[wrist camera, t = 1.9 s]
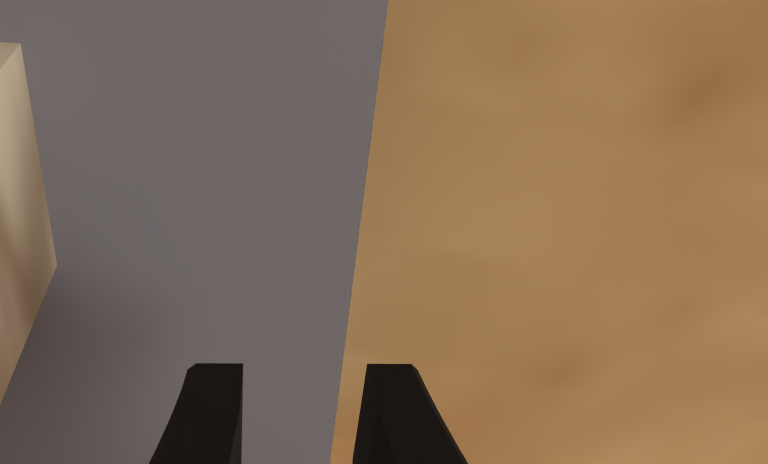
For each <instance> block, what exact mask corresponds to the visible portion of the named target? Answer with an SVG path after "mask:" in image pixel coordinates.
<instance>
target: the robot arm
mask: <svg viewBox="0 0 768 464" xmlns="http://www.w3.org/2000/svg"><path fill="white" fill-rule="evenodd" d="M242 407H243V363H196V364H194V365H193V366H192V367H190V368H189V369H187V373H186V376H185V379H184V383H183V386H182V389H181V391H180V394H179V397H178V399H177V402H176V405H175V407H174V410H173V412H172V415H171V417H170V419H169V421H168V424H167V426H166V428H165V430H164V433H163V435H162V437H161V439H160V441H159V443H158V446H157V448H156V450H155V452H154V454H153V456H152V458H151V460H150V462H149V464H241V459H242ZM353 464H468V463H467V461H466V459H465V458H464V456H463V454H462V453H461V451H460V449H459V447H458V446H457V444H456V442H455V440H454V439H453V437H452V435H451V433H450V432H449V430H448V428H447V426H446V425H445V423H444V421H443V419H442V417H441V415H440V413H439V412H438V410H437V408H436V406H435V404H434V402H433V400H432V398H431V396H430V394H429V392H428V390H427V388H426V386H425V384H424V382H423V380H422V378H421V376H420V374H419V372H418V370H417V369H416V368H415V367H414V366H413V365H412V364H367V370H366V376H365V383H364V389H363V396H362V402H361V409H360V415H359V422H358V428H357V435H356V442H355V448H354V455H353Z"/></svg>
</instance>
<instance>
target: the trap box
mask: <svg viewBox="0 0 768 464" xmlns="http://www.w3.org/2000/svg"><path fill="white" fill-rule="evenodd" d="M387 5H388V0H0V42H6V43H20V44H21V49H22V55H23V61H24V67H25V73H26V79H27V85H28V91H29V97H30V103H31V110H32V116H33V122H34V128H35V134H36V140H37V146H38V152H39V158H40V164H41V170H42V177H43V183H44V189H45V195H46V201H47V207H48V213H49V219H50V225H51V231H52V237H53V243H54V250H55V256H56V262H57V266H56V269H55V271H54V274H53V276H52V279H51V281H50V284H49V286H48V289H47V291H46V294H45V296H44V298H43V301H42V303H41V306H40V308H39V311H38V313H37V316H36V318H35V321H34V323H33V325H32V328H31V330H30V333H29V335H28V338H27V340H26V343H25V345H24V348H23V350H22V352H21V355H20V357H19V360H18V362H17V365H16V367H15V370H14V372H13V375H12V377H11V379H10V382H9V384H8V387H7V389H6V392H5V394H4V397H3V399H2V402H1V404H0V464H149V462H150V460H151V458H152V456H153V454H154V452H155V450H156V448H157V446H158V443H159V441H160V439H161V437H162V435H163V433H164V430H165V428H166V426H167V424H168V421H169V419H170V417H171V415H172V412H173V410H174V407H175V405H176V402H177V399H178V397H179V394H180V391H181V389H182V386H183V383H184V379H185V376H186V373H187V369H189V368H190V367H192V366H193V365H194V364H196V363H243V407H242V459H241V464H330V457H331V449H332V442H333V434H334V426H335V418H336V410H337V402H338V394H339V386H340V378H341V370H342V362H343V354H344V346H345V338H346V330H347V322H348V314H349V306H350V299H351V291H352V283H353V275H354V267H355V259H356V251H357V243H358V235H359V227H360V219H361V211H362V203H363V195H364V187H365V179H366V171H367V164H368V156H369V148H370V140H371V132H372V124H373V116H374V108H375V100H376V92H377V84H378V76H379V68H380V60H381V52H382V44H383V36H384V28H385V21H386V13H387Z"/></svg>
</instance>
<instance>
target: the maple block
mask: <svg viewBox="0 0 768 464" xmlns="http://www.w3.org/2000/svg"><path fill="white" fill-rule="evenodd" d="M56 266H57V262H56V256H55V250H54V243H53V237H52V231H51V225H50V219H49V213H48V207H47V201H46V195H45V189H44V183H43V177H42V170H41V164H40V158H39V152H38V146H37V140H36V134H35V128H34V122H33V116H32V110H31V103H30V97H29V91H28V85H27V79H26V73H25V67H24V61H23V55H22V49H21V44H20V43H6V42H0V404H1V402H2V399H3V397H4V394H5V392H6V389H7V387H8V384H9V382H10V379H11V377H12V375H13V372H14V370H15V367H16V365H17V362H18V360H19V357H20V355H21V352H22V350H23V348H24V345H25V343H26V340H27V338H28V335H29V333H30V330H31V328H32V325H33V323H34V321H35V318H36V316H37V313H38V311H39V308H40V306H41V303H42V301H43V298H44V296H45V294H46V291H47V289H48V286H49V284H50V281H51V279H52V276H53V274H54V271H55V269H56Z"/></svg>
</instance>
